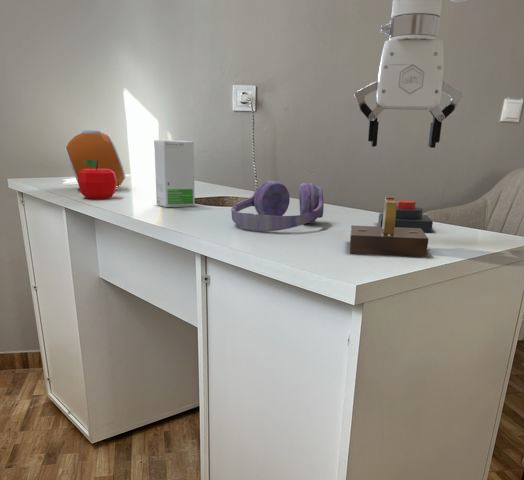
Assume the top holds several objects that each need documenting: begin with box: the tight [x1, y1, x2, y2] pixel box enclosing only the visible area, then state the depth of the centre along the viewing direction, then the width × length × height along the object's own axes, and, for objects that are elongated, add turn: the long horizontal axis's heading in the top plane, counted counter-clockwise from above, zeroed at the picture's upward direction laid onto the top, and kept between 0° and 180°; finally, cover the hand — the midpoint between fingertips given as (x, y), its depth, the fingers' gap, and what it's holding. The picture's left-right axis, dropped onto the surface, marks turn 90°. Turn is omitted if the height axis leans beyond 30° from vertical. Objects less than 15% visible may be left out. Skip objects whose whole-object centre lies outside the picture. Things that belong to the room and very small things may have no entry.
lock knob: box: [382, 196, 398, 234], centre depth 91 cm, size 6×2×5 cm, turn 172°
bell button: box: [396, 199, 417, 210], centre depth 113 cm, size 4×4×2 cm
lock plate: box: [349, 225, 429, 258], centre depth 93 cm, size 12×10×3 cm
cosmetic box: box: [153, 139, 196, 208], centre depth 138 cm, size 8×7×16 cm
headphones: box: [230, 180, 324, 233], centre depth 114 cm, size 18×8×20 cm
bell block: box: [377, 206, 434, 233], centre depth 114 cm, size 10×9×4 cm
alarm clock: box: [64, 129, 126, 188], centre depth 172 cm, size 19×18×17 cm
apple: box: [77, 160, 117, 200], centre depth 152 cm, size 11×11×10 cm
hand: (402, 146), depth 94 cm, fingers open, 9 cm apart
